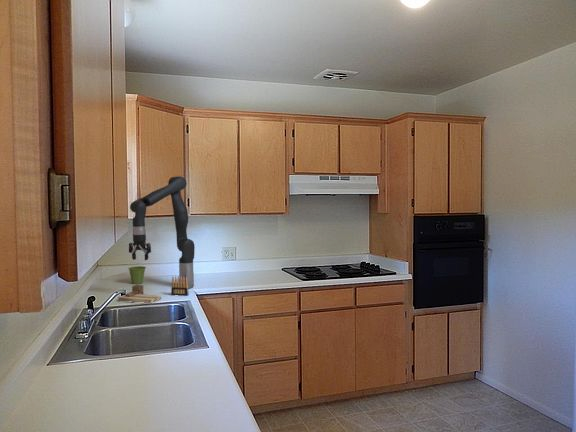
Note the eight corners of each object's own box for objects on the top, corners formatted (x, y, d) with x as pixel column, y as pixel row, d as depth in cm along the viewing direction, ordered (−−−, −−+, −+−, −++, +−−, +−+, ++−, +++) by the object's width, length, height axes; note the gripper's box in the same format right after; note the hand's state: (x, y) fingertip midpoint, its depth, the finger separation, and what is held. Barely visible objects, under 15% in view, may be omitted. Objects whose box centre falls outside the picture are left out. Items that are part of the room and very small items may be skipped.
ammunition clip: (188, 295, 248) (188, 276, 248) (187, 295, 246) (187, 276, 246) (172, 294, 250) (172, 275, 249) (171, 295, 248) (170, 276, 247)
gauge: (136, 295, 246) (136, 283, 246) (143, 296, 245) (143, 284, 245) (123, 300, 235) (123, 287, 235) (130, 301, 234) (130, 288, 233)
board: (129, 297, 243) (129, 293, 243) (160, 299, 237) (160, 295, 237) (118, 301, 233) (118, 297, 233) (150, 304, 227) (150, 299, 227)
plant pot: (131, 285, 275) (131, 269, 274) (126, 283, 284) (125, 267, 284) (148, 283, 282) (148, 267, 282) (142, 280, 292) (142, 265, 291)
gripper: (152, 233, 245) (153, 259, 246) (133, 232, 249) (134, 258, 250) (145, 234, 238) (146, 261, 239) (125, 234, 242) (126, 260, 243)
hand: (140, 259), depth 245 cm, fingers open, 8 cm apart
